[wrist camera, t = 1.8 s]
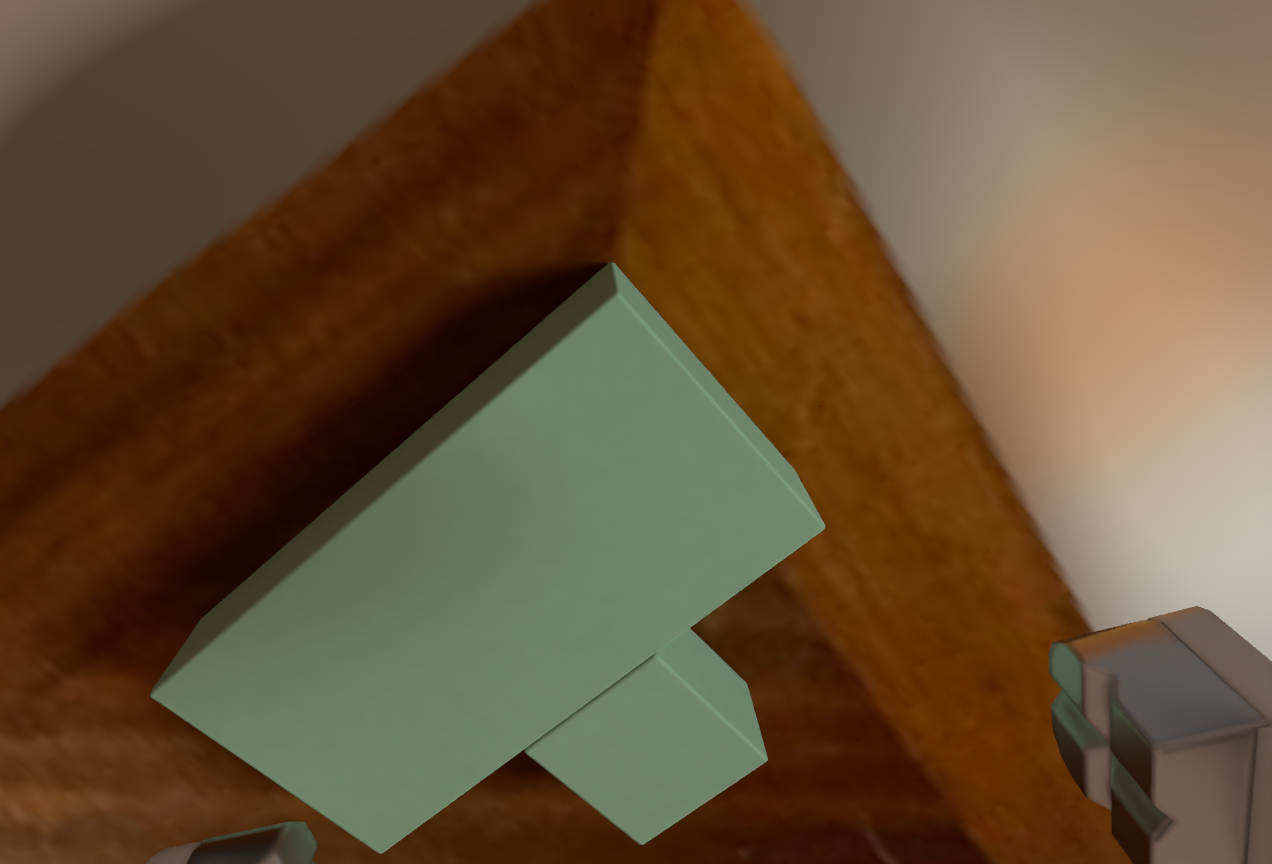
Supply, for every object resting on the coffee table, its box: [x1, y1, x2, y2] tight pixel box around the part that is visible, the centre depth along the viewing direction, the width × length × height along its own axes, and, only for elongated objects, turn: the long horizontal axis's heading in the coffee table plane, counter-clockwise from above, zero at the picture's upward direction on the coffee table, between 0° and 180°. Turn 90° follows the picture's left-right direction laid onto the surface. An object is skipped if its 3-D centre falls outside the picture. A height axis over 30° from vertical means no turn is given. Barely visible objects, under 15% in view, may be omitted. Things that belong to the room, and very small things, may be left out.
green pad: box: [150, 262, 825, 854], centre depth 18 cm, size 12×10×2 cm
